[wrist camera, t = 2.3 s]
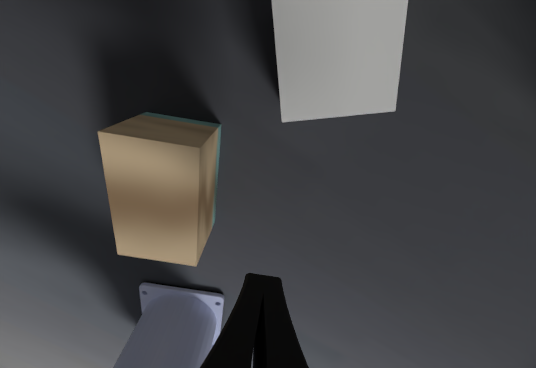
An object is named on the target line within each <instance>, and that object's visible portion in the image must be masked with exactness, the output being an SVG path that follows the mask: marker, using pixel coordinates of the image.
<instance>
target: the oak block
mask: <svg viewBox="0 0 536 368" xmlns="http://www.w3.org/2000/svg"><path fill="white" fill-rule="evenodd" d="M98 136H99V142H100V149H101V155H102V161H103V167H104V173H105V179H106V186H107V192H108V198H109V204H110V210H111V216H112V223H113V229H114V235H115V241H116V247H117V253H118V255H124V256H130V257H137V258H144V259H150V260H157V261H164V262H170V263H177V264H184V265H190V266H197V263H198V261H199V259H200V256H201V254H202V251H203V249H204V246H205V244H206V242H207V239H208V237H209V234H210V232H211V229H212V227H213V224H214V222H215V209H216V194H217V180H218V165H219V150H220V136H221V124H216V123H210V122H204V121H198V120H192V119H186V118H179V117H173V116H167V115H161V114H155V113H149V112H145V113H142V114H140V115H137V116H135V117H132V118H130V119H127V120H125V121H122V122H120V123H117V124H115V125H112V126H110V127H107V128H105V129H102V130H100V131H98Z"/></svg>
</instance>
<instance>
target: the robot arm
mask: <svg viewBox="0 0 536 368" xmlns="http://www.w3.org/2000/svg"><path fill="white" fill-rule="evenodd" d="M139 293H140V301H141V310H142V315H141V317H140V319H139V321H138V323H137V325H136V327H135V328H134V330H133V332H132V334H131V336H130V338H129V339H128V341H127V343H126V345H125V347H124V349H123V350H122V352H121V354H120V356H119V358H118V360H117V362H116V363H115V365H114V367H113V368H251V361H252V354H253V368H309V367H308V365H307V363H306V360H305V357H304V355H303V352H302V350H301V347H300V344H299V342H298V339H297V336H296V333H295V330H294V327H293V324H292V321H291V318H290V315H289V311H288V308H287V304H286V300H285V296H284V292H283V287H282V281H281V279H280V278H279V277H273V276H266V275H259V274H253V273H248V274H246V276H245V280H244V284H243V287H242V289H241V292H240V295H239V297H238V299H237V301H236V304H235V306H234V308H233V310H232V312H231V314H230V316H229V318H228V320H227V322H226V324H225V326H224V328H223V329H222V331H221V323H222V314H223V305H224V296H223V295H222V294H219V293H213V292H206V291H199V290H192V289H186V288H179V287H172V286H166V285H159V284H152V283H142V284H141V285H140V286H139ZM220 332H221V333H220ZM253 347H254V350H253Z"/></svg>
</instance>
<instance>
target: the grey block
mask: <svg viewBox="0 0 536 368" xmlns="http://www.w3.org/2000/svg"><path fill="white" fill-rule="evenodd" d="M407 5H408V0H272V11H273V23H274V35H275V47H276V58H277V70H278V82H279V93H280V105H281V117H282V122H290V121H301V120H311V119H321V118H331V117H341V116H351V115H361V114H371V113H381V112H391V111H395V109H396V100H397V91H398V83H399V74H400V66H401V57H402V48H403V40H404V31H405V22H406V14H407Z"/></svg>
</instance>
